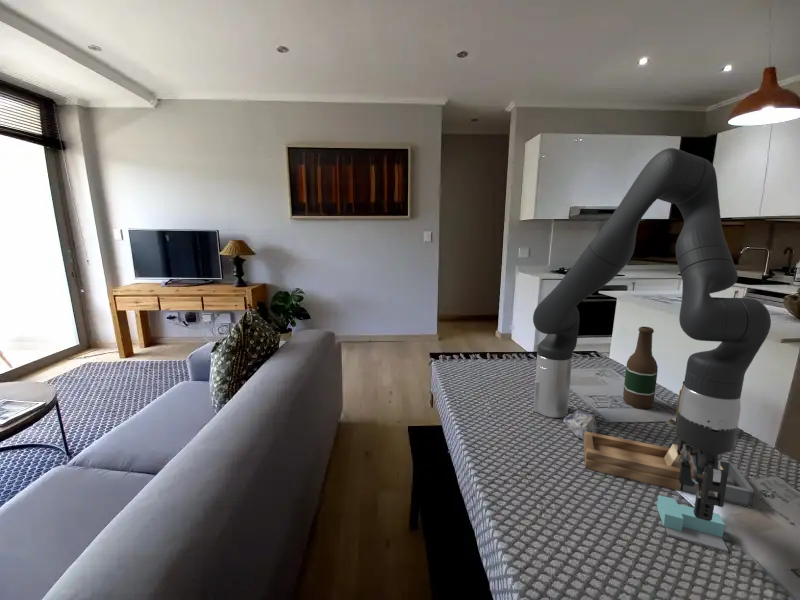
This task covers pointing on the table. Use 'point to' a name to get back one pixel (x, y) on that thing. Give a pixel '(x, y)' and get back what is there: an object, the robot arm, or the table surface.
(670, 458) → the tan wooden cube
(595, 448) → the slot board
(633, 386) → the beer bottle
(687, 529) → the mat
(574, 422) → the mineral specimen
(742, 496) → the tray
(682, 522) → the teal t-shaped block
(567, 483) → the table surface
